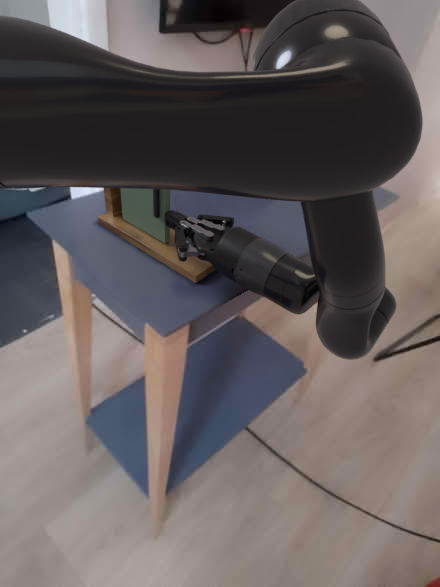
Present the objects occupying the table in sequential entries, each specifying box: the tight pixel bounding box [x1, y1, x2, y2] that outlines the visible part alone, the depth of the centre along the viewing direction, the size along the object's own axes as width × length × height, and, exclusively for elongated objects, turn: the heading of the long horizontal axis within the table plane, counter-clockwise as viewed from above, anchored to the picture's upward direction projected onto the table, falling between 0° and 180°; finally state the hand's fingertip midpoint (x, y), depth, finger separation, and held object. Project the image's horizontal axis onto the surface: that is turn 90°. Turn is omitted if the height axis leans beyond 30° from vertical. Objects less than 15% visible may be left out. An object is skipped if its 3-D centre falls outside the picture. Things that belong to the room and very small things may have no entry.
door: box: [120, 188, 171, 243], centre depth 65 cm, size 2×11×15 cm, turn 51°
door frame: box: [97, 188, 216, 284], centre depth 64 cm, size 8×25×19 cm, turn 51°
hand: (167, 216), depth 64 cm, fingers closed
